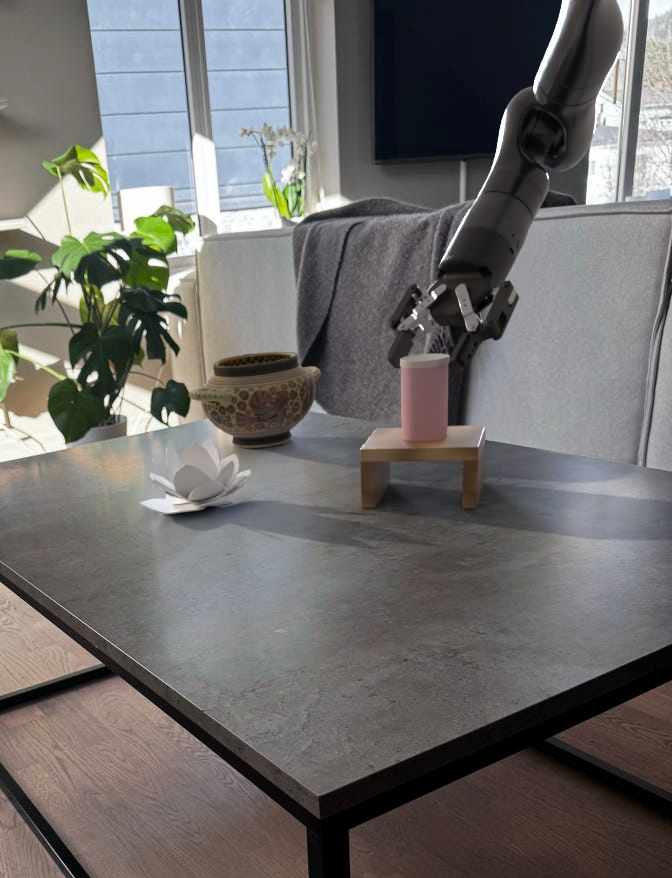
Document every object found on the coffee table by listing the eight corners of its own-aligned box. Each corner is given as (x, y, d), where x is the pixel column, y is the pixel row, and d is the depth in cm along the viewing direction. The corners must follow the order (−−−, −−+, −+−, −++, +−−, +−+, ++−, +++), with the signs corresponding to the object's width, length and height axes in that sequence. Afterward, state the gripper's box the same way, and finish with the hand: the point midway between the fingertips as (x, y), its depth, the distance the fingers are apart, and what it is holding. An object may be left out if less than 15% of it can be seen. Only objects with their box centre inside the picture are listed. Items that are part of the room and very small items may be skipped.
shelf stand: (484, 482, 112) (485, 424, 109) (476, 508, 103) (478, 446, 100) (377, 482, 117) (376, 427, 114) (361, 508, 107) (359, 449, 104)
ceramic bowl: (299, 438, 157) (280, 349, 154) (365, 423, 141) (346, 324, 138) (177, 469, 146) (154, 374, 143) (234, 456, 131) (210, 350, 128)
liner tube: (450, 430, 108) (451, 352, 104) (445, 441, 104) (446, 359, 100) (404, 432, 110) (403, 354, 106) (397, 442, 105) (396, 362, 102)
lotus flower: (117, 514, 115) (112, 443, 112) (200, 497, 125) (197, 432, 122) (197, 525, 105) (194, 448, 102) (281, 506, 115) (280, 435, 112)
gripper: (420, 228, 108) (358, 344, 106) (529, 218, 97) (463, 346, 96) (447, 271, 113) (388, 382, 111) (553, 266, 103) (491, 389, 101)
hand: (423, 365), depth 104 cm, fingers open, 8 cm apart
